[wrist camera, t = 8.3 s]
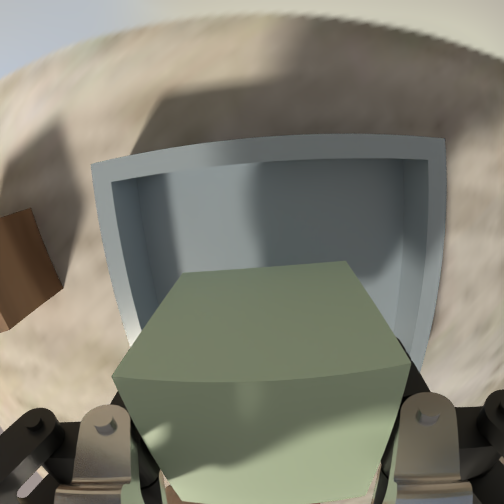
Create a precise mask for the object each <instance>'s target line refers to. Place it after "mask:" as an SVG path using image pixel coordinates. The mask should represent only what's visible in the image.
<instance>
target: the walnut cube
mask: <svg viewBox="0 0 504 504" xmlns="http://www.w3.org/2000/svg"><path fill="white" fill-rule="evenodd" d="M62 289H63V286H62V284H61V282H60V280H59V278H58V276H57V273H56V271H55V269H54V267H53V264H52V262H51V260H50V258H49V255H48V253H47V250H46V248H45V245H44V243H43V240H42V238H41V235H40V233H39V230H38V227H37V225H36V222H35V219H34V216H33V213H32V210H31V208H29V209H26V210H22V211H19V212H16V213H13V214H10V215H7V216H4V217H1V218H0V333H1V332H4V331H8V330H10V329H11V328H13V327H14V326H15V325H16V324H17V323H19V322H20V321H21V320H22V319H24V318H25V317H26V316H28V315H29V314H30V313H31V312H33V311H34V310H35V309H37V308H38V307H39V306H40V305H42V304H43V303H44V302H46V301H47V300H48V299H50V298H51V297H52V296H54V295H55V294H56V293H58V292H59V291H61V290H62Z"/></svg>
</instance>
